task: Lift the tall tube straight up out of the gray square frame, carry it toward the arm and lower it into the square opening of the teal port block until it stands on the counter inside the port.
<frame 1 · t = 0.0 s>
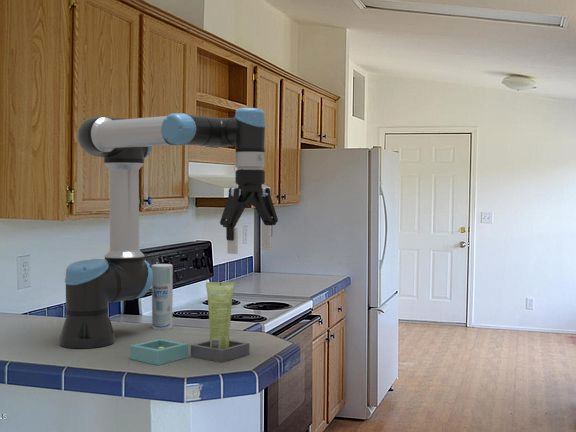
hand: (250, 251, 185), 28 cm above the worktop, fingers open, 13 cm apart
spray can: (162, 328, 227), on the worktop
tube: (220, 356, 190), resting in gray square frame
port block: (159, 358, 187), on the worktop
gray square frame: (220, 355, 190), on the worktop
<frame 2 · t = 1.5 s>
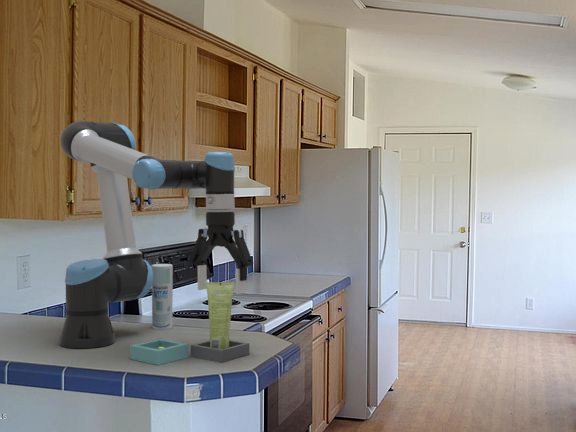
hand: (221, 291, 189), 17 cm above the worktop, fingers open, 13 cm apart
nothing on the worktop moved.
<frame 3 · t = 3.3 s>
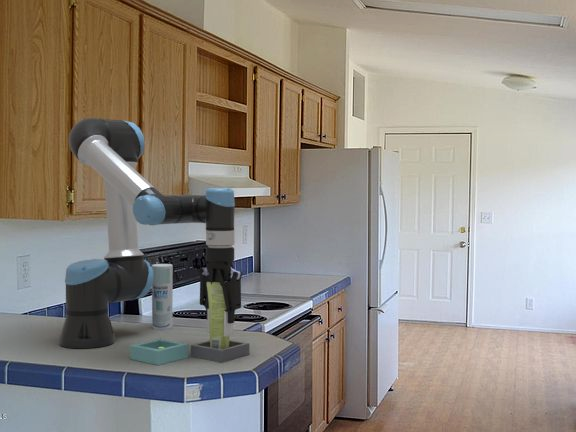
hand: (220, 333, 190), 6 cm above the worktop, fingers closed on tube, 5 cm apart
tube: (220, 356, 190), resting in gray square frame, touching gripper
everything else where it was.
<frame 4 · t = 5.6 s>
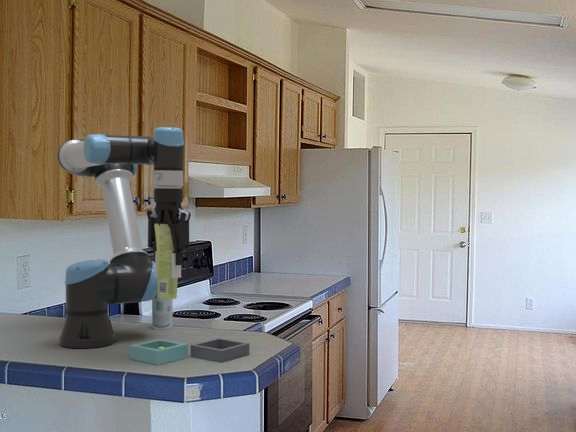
hand: (168, 276, 187), 21 cm above the worktop, fingers closed on tube, 5 cm apart
tube: (168, 299, 188), point 15 cm above the worktop, touching gripper
everything else where it was.
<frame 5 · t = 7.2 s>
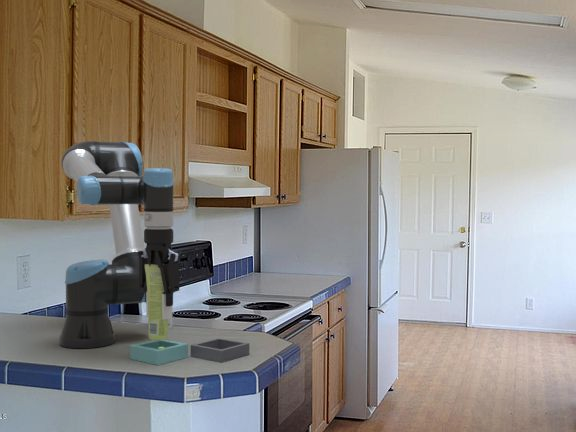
hand: (159, 317, 187), 11 cm above the worktop, fingers closed on tube, 5 cm apart
tube: (159, 339, 187), point 5 cm above the worktop, touching gripper
everything else where it was.
when the fingers open (7 cm above the worktop, at t = 8.4 s): tube stays where it is, resting in port block.
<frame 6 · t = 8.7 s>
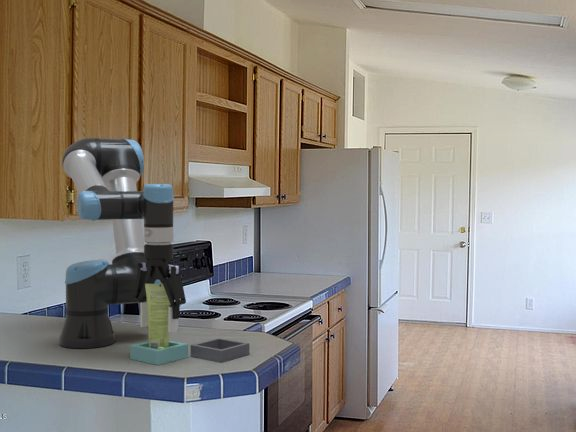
hand: (159, 328, 187), 8 cm above the worktop, fingers open, 10 cm apart
tube: (159, 358, 187), resting in port block
everything else where it was.
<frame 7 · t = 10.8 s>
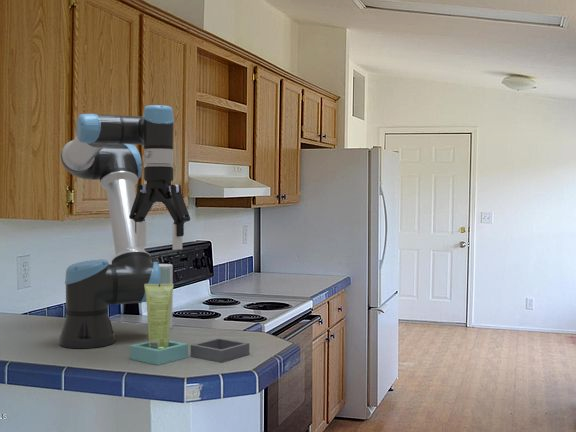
hand: (158, 248, 186), 29 cm above the worktop, fingers open, 13 cm apart
nothing on the worktop moved.
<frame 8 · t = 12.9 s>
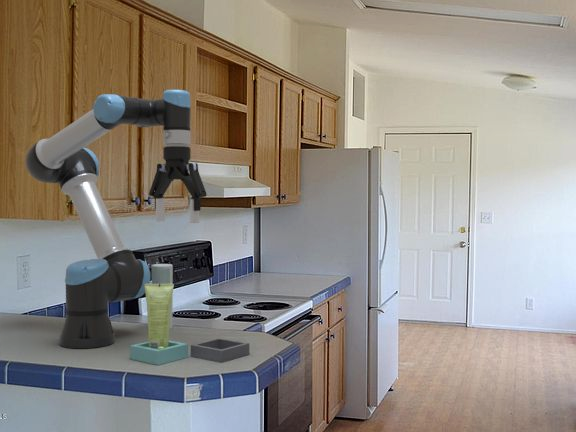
hand: (177, 222, 201), 35 cm above the worktop, fingers open, 13 cm apart
nothing on the worktop moved.
at the end: tube 0.1 cm from the port block (horizontally); tube tilted 0°; the gripper is holding nothing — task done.
